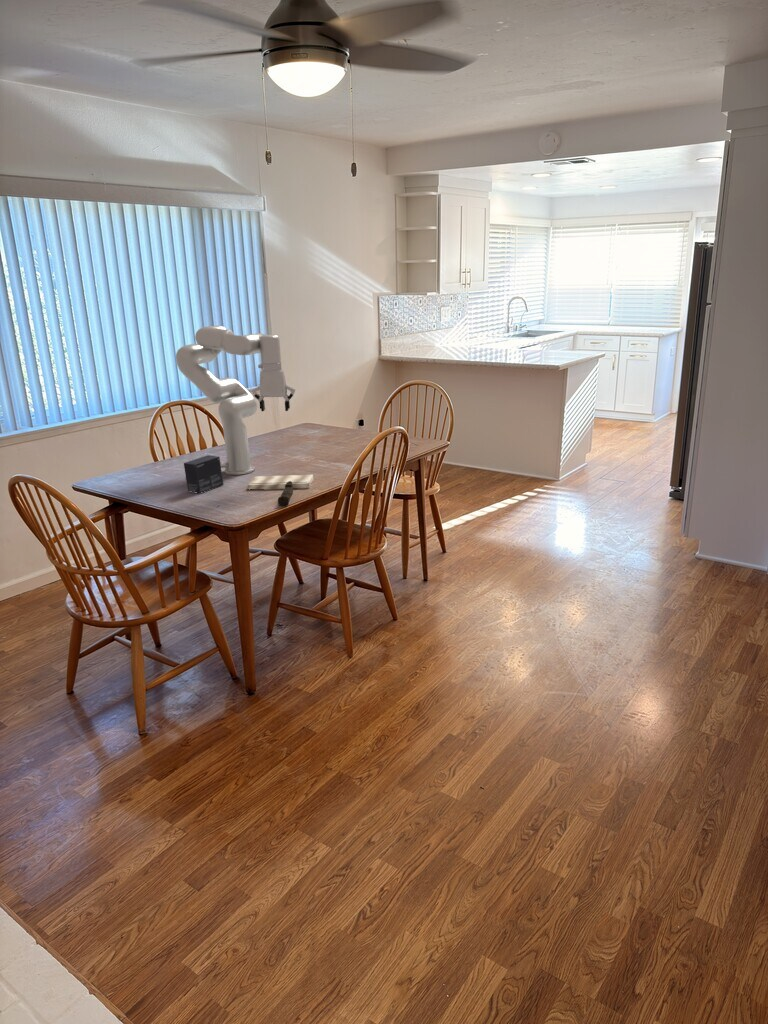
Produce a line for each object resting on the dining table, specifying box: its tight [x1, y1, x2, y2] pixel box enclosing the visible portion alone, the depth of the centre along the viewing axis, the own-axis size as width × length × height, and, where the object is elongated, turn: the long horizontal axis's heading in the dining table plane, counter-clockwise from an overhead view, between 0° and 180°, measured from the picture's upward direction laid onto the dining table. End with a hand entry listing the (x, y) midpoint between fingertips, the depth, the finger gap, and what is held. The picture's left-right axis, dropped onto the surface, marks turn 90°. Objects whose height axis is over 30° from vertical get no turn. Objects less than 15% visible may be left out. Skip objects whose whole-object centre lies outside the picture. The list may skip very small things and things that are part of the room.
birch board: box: [247, 474, 314, 491], centre depth 281 cm, size 24×12×2 cm, turn 88°
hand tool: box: [277, 481, 294, 507], centre depth 263 cm, size 19×4×5 cm, turn 176°
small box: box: [183, 454, 224, 494], centre depth 279 cm, size 13×7×12 cm, turn 147°
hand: (275, 410), depth 283 cm, fingers open, 9 cm apart
